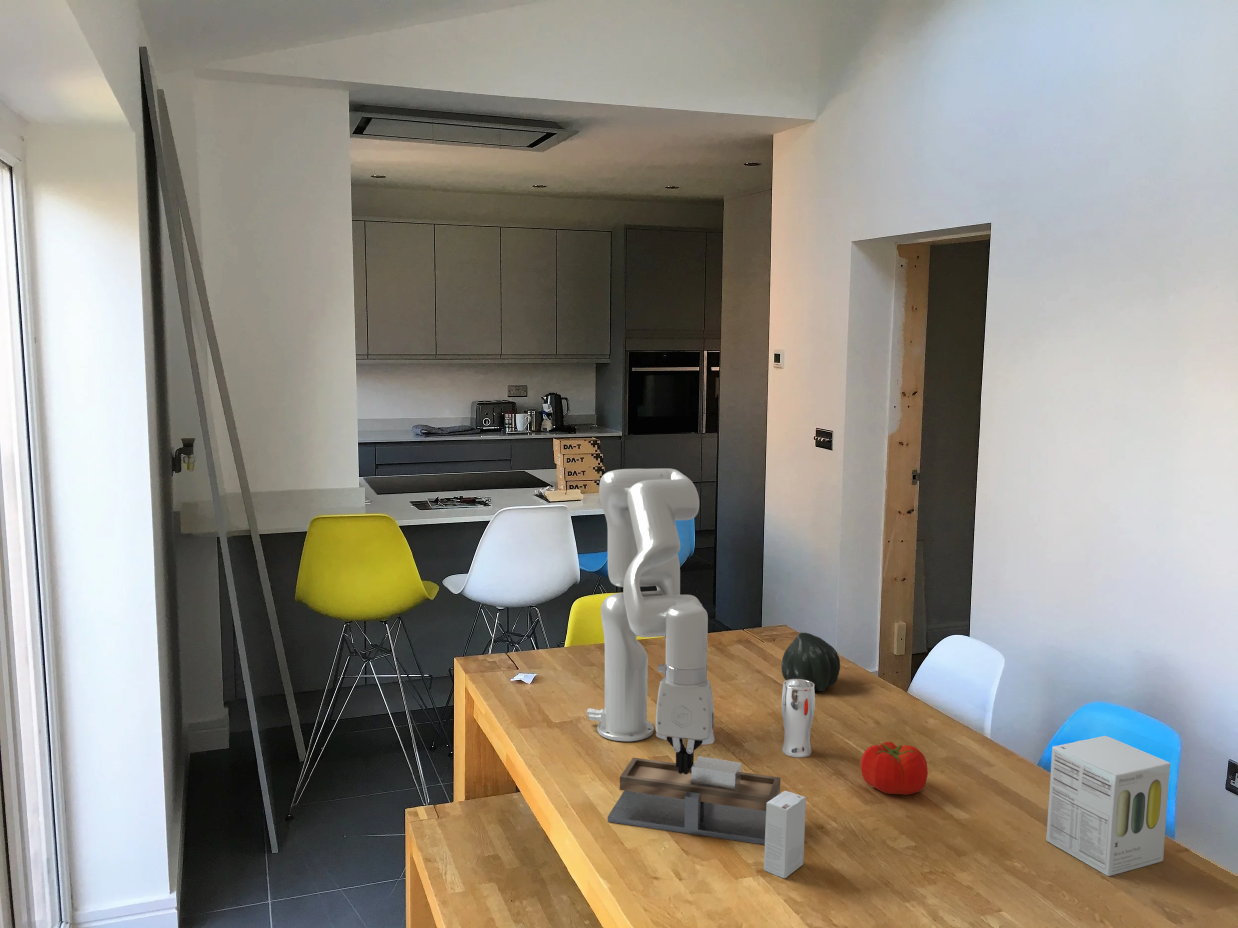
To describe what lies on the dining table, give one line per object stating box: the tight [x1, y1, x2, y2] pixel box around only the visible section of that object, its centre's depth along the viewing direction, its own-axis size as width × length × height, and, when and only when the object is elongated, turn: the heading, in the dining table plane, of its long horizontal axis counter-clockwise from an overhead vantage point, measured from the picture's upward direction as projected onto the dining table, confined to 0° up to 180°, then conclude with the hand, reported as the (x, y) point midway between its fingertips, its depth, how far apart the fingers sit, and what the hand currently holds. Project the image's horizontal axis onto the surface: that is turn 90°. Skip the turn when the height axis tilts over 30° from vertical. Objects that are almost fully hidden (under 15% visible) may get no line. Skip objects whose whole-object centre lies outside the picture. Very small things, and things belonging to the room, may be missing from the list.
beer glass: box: [781, 679, 816, 759], centre depth 208 cm, size 7×7×15 cm
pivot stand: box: [607, 790, 766, 846], centre depth 179 cm, size 31×15×7 cm, turn 74°
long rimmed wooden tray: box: [619, 757, 781, 811], centre depth 179 cm, size 28×9×2 cm, turn 74°
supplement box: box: [1045, 735, 1171, 877], centre depth 167 cm, size 13×13×18 cm
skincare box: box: [763, 790, 807, 879], centre depth 161 cm, size 6×4×12 cm
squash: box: [781, 632, 841, 692], centre depth 250 cm, size 14×15×15 cm
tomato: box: [860, 741, 929, 796], centre depth 192 cm, size 13×12×8 cm
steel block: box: [691, 755, 742, 791], centre depth 177 cm, size 8×5×4 cm, turn 71°
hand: (684, 770), depth 179 cm, fingers closed
